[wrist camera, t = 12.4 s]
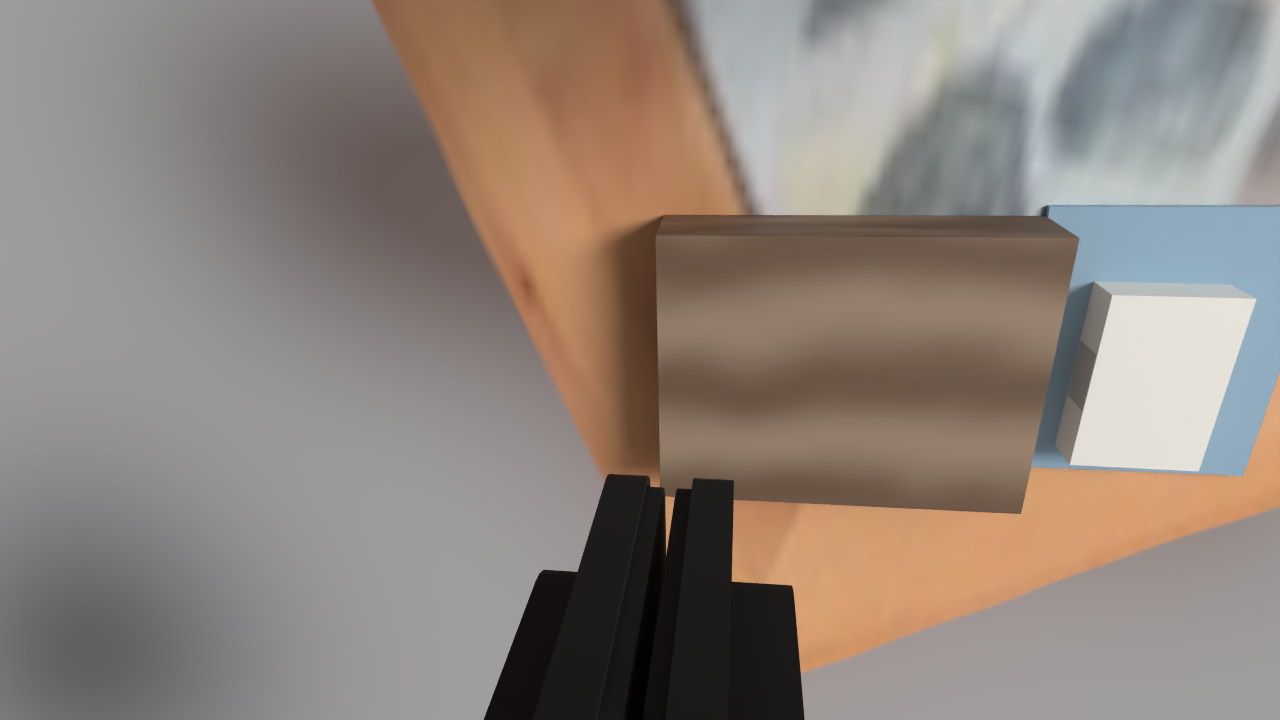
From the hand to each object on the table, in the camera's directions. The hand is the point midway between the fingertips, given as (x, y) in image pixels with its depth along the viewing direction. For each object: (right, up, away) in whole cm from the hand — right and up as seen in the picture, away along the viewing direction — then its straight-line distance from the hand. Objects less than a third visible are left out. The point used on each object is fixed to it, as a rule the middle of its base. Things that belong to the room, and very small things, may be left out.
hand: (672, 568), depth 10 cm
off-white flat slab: (+24, +2, +26) cm, 36 cm away
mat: (+25, +3, +27) cm, 37 cm away
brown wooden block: (+10, +3, +29) cm, 31 cm away
